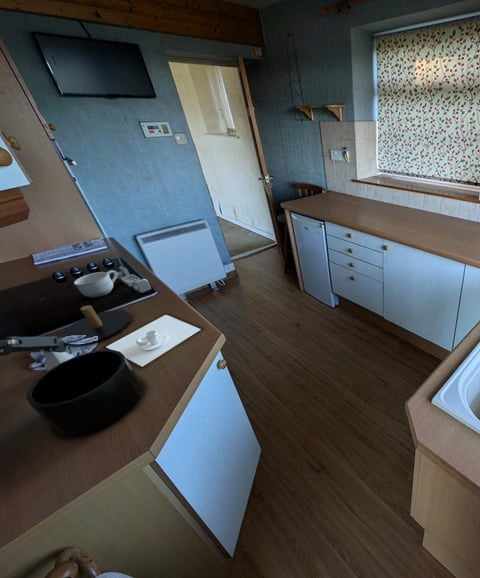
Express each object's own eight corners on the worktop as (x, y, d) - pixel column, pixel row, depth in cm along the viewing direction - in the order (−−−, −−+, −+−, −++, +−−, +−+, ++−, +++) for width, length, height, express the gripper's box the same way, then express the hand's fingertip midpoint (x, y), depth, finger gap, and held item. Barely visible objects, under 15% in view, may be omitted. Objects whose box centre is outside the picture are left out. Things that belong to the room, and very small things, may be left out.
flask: (69, 375, 87) (49, 350, 81) (41, 378, 86) (19, 353, 80) (86, 358, 93) (69, 333, 87) (60, 360, 92) (41, 336, 86)
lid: (46, 347, 96) (29, 325, 92) (92, 313, 113) (79, 293, 108) (107, 345, 98) (93, 324, 93) (143, 312, 114) (133, 292, 109)
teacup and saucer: (133, 345, 98) (128, 336, 95) (158, 332, 104) (153, 323, 102) (149, 354, 94) (144, 344, 92) (173, 339, 101) (169, 330, 98)
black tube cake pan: (34, 438, 70) (2, 408, 64) (93, 379, 86) (71, 350, 80) (112, 435, 71) (88, 405, 65) (157, 377, 87) (140, 348, 81)
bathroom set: (152, 288, 128) (147, 277, 126) (140, 293, 125) (135, 282, 122) (127, 273, 140) (122, 263, 137) (115, 277, 136) (109, 267, 133)
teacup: (89, 303, 118) (78, 286, 114) (79, 295, 123) (69, 278, 119) (129, 288, 128) (121, 272, 124) (119, 281, 133) (110, 266, 129)
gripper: (27, 315, 63) (87, 328, 83) (-156, 349, 54) (-40, 355, 73) (30, 348, 62) (90, 354, 81) (-157, 389, 53) (-39, 385, 72)
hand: (29, 354), depth 77 cm, fingers open, 13 cm apart
